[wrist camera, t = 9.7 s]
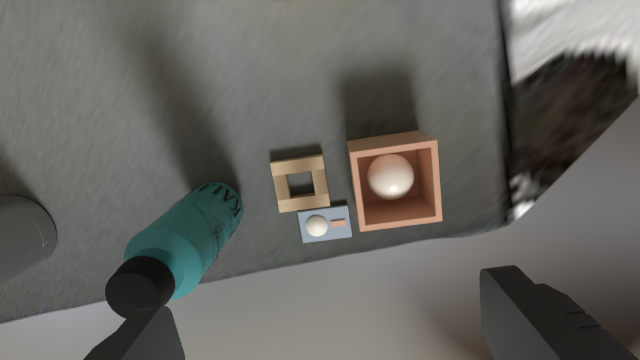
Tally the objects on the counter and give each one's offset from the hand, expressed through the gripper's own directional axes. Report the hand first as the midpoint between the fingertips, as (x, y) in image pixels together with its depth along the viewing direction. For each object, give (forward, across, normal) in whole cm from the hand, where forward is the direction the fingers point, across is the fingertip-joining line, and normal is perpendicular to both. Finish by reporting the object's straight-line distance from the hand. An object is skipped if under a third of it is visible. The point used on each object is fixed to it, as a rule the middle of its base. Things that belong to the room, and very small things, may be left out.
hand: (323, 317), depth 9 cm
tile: (+32, +2, +10) cm, 34 cm away
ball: (+29, -6, +5) cm, 30 cm away
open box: (+32, -6, +5) cm, 33 cm away
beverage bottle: (+32, +14, +6) cm, 36 cm away
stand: (+32, +4, +5) cm, 33 cm away
